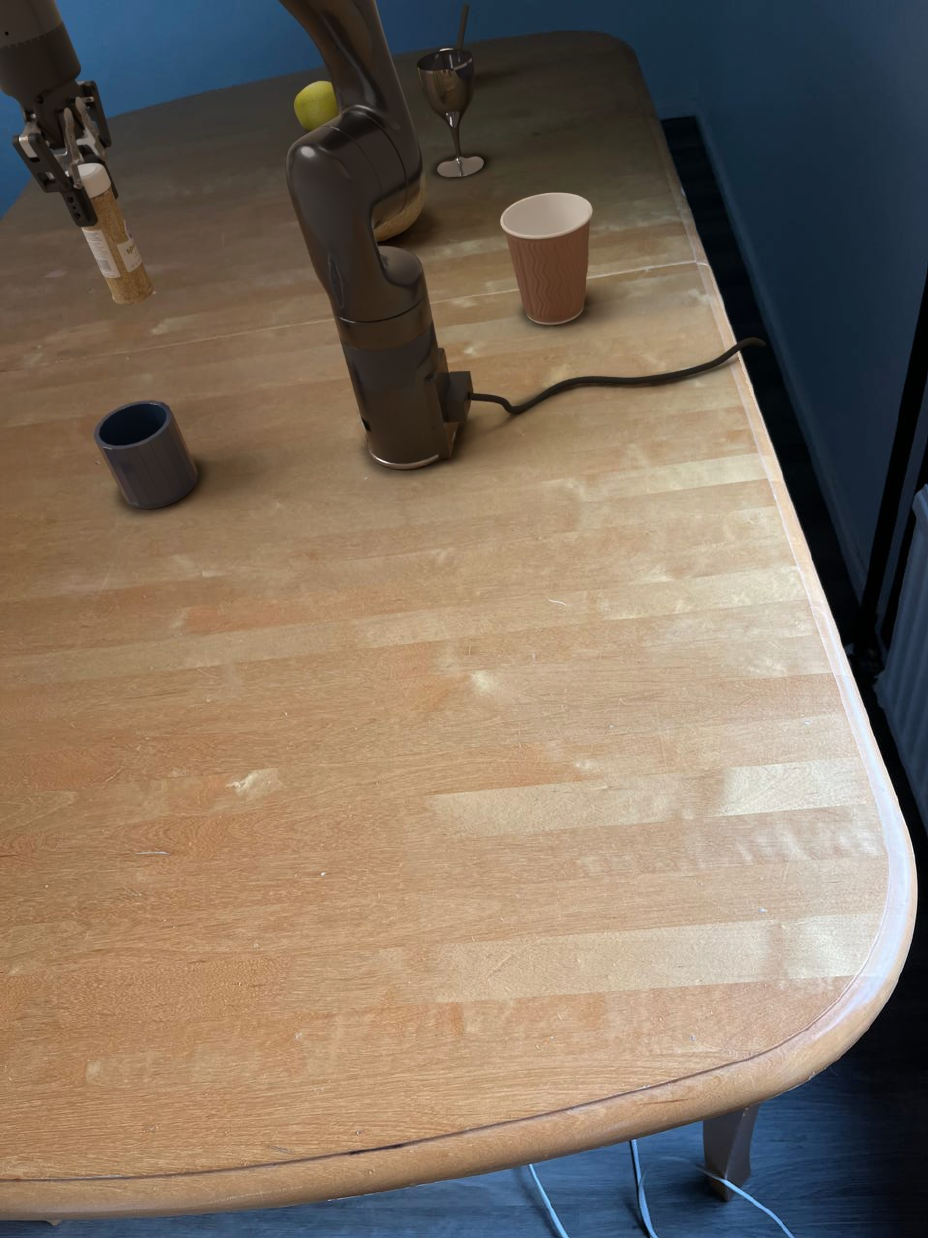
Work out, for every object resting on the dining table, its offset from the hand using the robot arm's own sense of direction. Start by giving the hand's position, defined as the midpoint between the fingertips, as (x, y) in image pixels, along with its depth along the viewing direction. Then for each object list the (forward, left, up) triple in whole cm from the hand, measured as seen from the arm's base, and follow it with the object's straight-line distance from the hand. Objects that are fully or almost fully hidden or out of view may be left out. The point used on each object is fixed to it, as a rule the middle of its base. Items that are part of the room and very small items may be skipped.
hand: (98, 211), depth 103 cm
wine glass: (-25, -59, -24) cm, 68 cm away
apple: (0, -76, -24) cm, 80 cm away
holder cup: (-3, +14, -24) cm, 28 cm away
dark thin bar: (-19, -90, -24) cm, 95 cm away
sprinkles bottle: (0, 0, -10) cm, 10 cm away
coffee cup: (-43, -17, -24) cm, 52 cm away
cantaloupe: (-17, -39, -24) cm, 49 cm away
